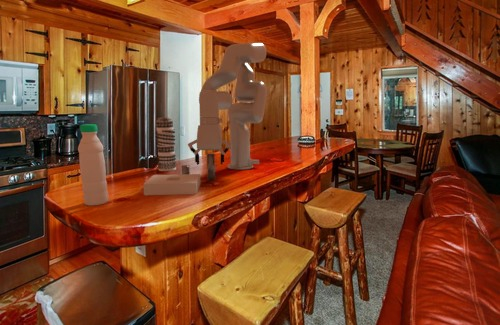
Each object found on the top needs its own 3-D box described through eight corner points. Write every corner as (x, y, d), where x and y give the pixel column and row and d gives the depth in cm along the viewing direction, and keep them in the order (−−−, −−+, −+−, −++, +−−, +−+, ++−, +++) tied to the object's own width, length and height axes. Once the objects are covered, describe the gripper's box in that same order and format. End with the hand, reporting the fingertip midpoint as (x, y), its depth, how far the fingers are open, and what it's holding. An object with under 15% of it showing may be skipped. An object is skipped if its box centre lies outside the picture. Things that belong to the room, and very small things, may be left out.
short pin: (190, 177, 130) (189, 165, 129) (189, 179, 127) (188, 166, 126) (182, 177, 130) (182, 165, 129) (181, 179, 127) (181, 166, 126)
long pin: (215, 179, 127) (214, 153, 125) (215, 180, 124) (214, 154, 122) (207, 179, 127) (206, 153, 125) (207, 181, 123) (206, 154, 121)
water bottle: (83, 207, 92) (73, 125, 87) (85, 201, 98) (76, 124, 94) (108, 204, 95) (100, 124, 90) (108, 198, 101) (101, 123, 96)
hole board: (200, 183, 119) (199, 174, 118) (196, 194, 105) (196, 182, 105) (154, 185, 118) (153, 175, 117) (144, 195, 104) (143, 184, 103)
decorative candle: (180, 167, 151) (177, 117, 146) (171, 171, 142) (168, 118, 137) (163, 167, 153) (160, 117, 148) (154, 170, 144) (150, 118, 139)
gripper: (230, 121, 125) (231, 162, 127) (188, 121, 124) (189, 162, 126) (230, 122, 117) (231, 165, 120) (186, 122, 116) (187, 165, 119)
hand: (209, 164), depth 123 cm, fingers open, 9 cm apart
